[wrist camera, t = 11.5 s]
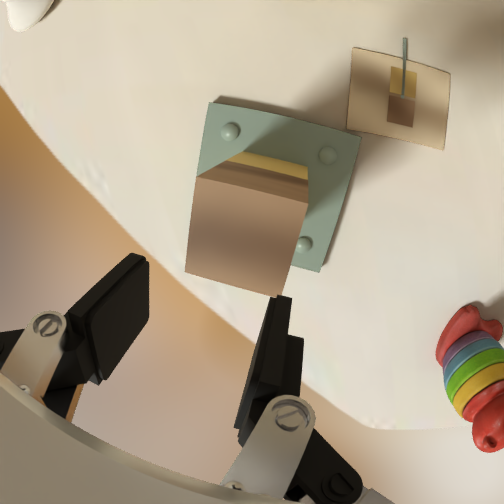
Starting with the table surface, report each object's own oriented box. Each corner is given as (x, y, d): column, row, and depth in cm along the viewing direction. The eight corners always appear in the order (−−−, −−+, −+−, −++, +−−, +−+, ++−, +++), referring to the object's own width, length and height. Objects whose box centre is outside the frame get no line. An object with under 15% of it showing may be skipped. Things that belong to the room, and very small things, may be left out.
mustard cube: (242, 151, 26) (225, 160, 20) (307, 166, 25) (307, 180, 20) (231, 211, 29) (212, 234, 23) (291, 226, 28) (287, 254, 23)
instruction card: (352, 27, 19) (353, 26, 19) (449, 54, 18) (450, 53, 18) (346, 128, 24) (346, 128, 24) (442, 150, 23) (443, 150, 22)
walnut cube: (225, 160, 20) (196, 176, 15) (308, 180, 20) (308, 203, 15) (213, 234, 23) (184, 272, 18) (287, 254, 23) (280, 298, 17)
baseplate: (212, 102, 25) (207, 102, 24) (359, 136, 24) (362, 137, 23) (191, 234, 32) (187, 238, 30) (319, 268, 31) (319, 274, 29)
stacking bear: (504, 324, 29) (554, 417, 13) (462, 371, 34) (492, 467, 18) (464, 299, 29) (524, 412, 13) (417, 355, 33) (445, 470, 18)
